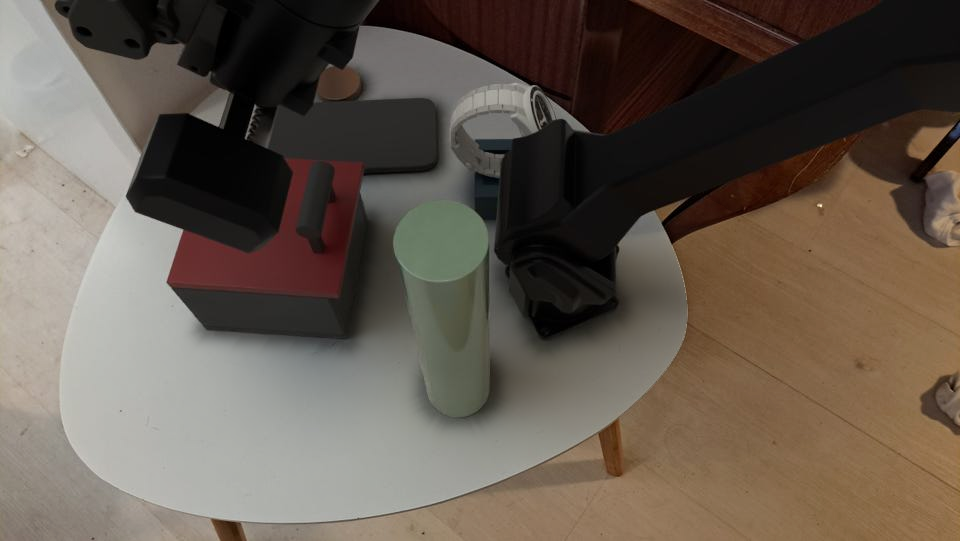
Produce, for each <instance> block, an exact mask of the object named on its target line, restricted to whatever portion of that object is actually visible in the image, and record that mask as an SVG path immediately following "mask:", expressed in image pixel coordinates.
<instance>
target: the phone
mask: <svg viewBox="0 0 960 541" xmlns="http://www.w3.org/2000/svg"><path fill="white" fill-rule="evenodd" d="M437 127H438V126H437V110H436V105H435V102H433V101H432V100H431V99H429V98H426V97H410V98H409V97H408V98H388V99H387V98H386V99H362V100H353V101H337V102H323V101H318V102H316V101H314V103H313V106H312V108H311V109H310V110H309V111H308V112H307V114H306V115H305V116H302V115H300V114H298V113H296V112H294V111H292V110H289V109H287V108H285V107H283V106H281V105H279V109H278V113H277V116H276V120H275V124H274V127H273V131H272V135H271V138H270V142H269V146H268V149H269V150H272V151H274V152H276V153H278V154H281V155H283V157H284V158H290V159H308V160H325V161H343V162H361V163H363V164H364V168H365V169H364V174H378V173H379V174H380V173H400V172H401V173H402V172H421V171H422V172H423V171H428V170H431V169H432V168H434V167H435V166H436V164H437V163H438V132H437V131H438V129H437Z"/></svg>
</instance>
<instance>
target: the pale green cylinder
mask: <svg viewBox="0 0 960 541" xmlns="http://www.w3.org/2000/svg"><path fill="white" fill-rule="evenodd" d="M392 246H393V252H394V256H395V260H396V265H397V270H398V274H399V278H400V282H401V286H402V291H403V295H404V299H405V303H406V304H405V305H406V308H407V312H408V316H409V317H408V318H409V322H410V325H411V330H412V333H413V337H414V342H415V346H416V350H417V351H416V352H417V355H418V359H419V364H420V368H421V372H422V376H423V380H424V385H425V389H426V394H427V397H428V400H429V401H430V404H431V405H432V407H433V408H435V410H437V412H439V413H441V414H442V415H444V416H447V417H450V418H466V417H470V416H471V415H473V414H476V413H477V412H478V411H480V409H482V408H483V406H484V405H485V403H486V402H487V401H488V398H489V396H490V391H491V372H490V371H491V350H490V348H491V345H490V343H491V342H490V341H491V340H490V339H491V336H490V334H491V332H490V328H491V327H490V318H491V316H490V234H489V230H488V227H487V225H486V223H485V221H484V219H482V218H481V217H480V216H479V215H478V214H477V213H476V212H475V209H473V208H471V207H470V206H468V205H466V204H464V203H461V202H458V201H454V200H448V199H443V200H442V199H440V200H439V199H438V200H432V201H428V202H424V203H421V204H419V205H417V206H415V207H414V208H412V209H411V210H409V211H408V212H407V213H406V214H405V215H404V216H403V217H402V218H401V220H400V221H399V223H398V224H397V226H396V228H395V231H394V234H393V239H392Z"/></svg>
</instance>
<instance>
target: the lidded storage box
mask: <svg viewBox="0 0 960 541" xmlns="http://www.w3.org/2000/svg"><path fill="white" fill-rule="evenodd" d="M367 225H368V215H367V212H366V208H365V204H364V201H363V197H362V193H361V192H360V195H359V200H358V205H357V210H356V215H355V221H354V226H353V231H352V236H351V241H350V247H349V252H348V257H347V262H346V267H345V272H344V278H343V283H342V288H341V293H340V298H326V297H311V296H296V295H280V294H265V293H250V292H235V291H220V290H205V289H190V288H175V287H170V289H171V290H172V291H173V292H174V294H175V295H176V296H177V297H178V298H179V299H180V301H181V302H182V303H183V305H185V307H186V308H187V309H188V310H189V311H190V313H191V314H192V315H193V316H194V317H195V318H196V319H197V321H198V322H199V323H200V324H201V325H202V327H203V328H204V329H205V330H207V331H219V332H221V331H222V332H237V333H248V334H249V333H251V334H265V335H278V336H280V335H281V336H293V337H307V338H308V337H309V338H322V339H338V340H347V336H348V331H349V330H348V329H349V324H350V318H351V312H352V307H353V303H354V297H355V291H356V285H357V280H358V275H359V269H360V265H361V264H360V263H361V257H362V254H363V248H364V241H365V236H366V230H367Z"/></svg>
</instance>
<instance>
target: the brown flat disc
mask: <svg viewBox="0 0 960 541" xmlns="http://www.w3.org/2000/svg"><path fill="white" fill-rule="evenodd" d="M362 84H363V83H362V80H361V76H360V74H359V73H358V71H357V70H356V69H355V68H352V67H350V66H348V65H346V66H345V68H344V69H343V70H341V69H339V68H337V67H335V66H333V65H332V66H329V67H326V69H325V70H324V71H323V72H322V74H321V75H320V78H319V83H318V87H317V91H316V95H317V97H318V98H319V100H320V101H321V102H337V101H356V99H357V98H358V97H359V95H360V94H361V92H362V89H363V85H362Z"/></svg>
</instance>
